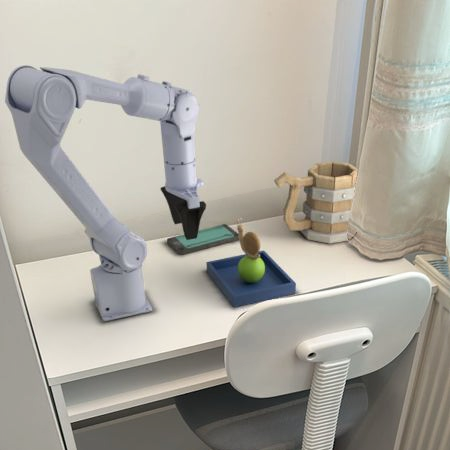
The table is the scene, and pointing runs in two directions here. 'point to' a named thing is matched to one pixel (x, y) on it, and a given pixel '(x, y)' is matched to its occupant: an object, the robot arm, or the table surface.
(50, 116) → the robot arm
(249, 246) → the snail figurine
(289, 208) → the tankard
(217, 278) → the tray
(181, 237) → the smartphone
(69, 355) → the table surface
